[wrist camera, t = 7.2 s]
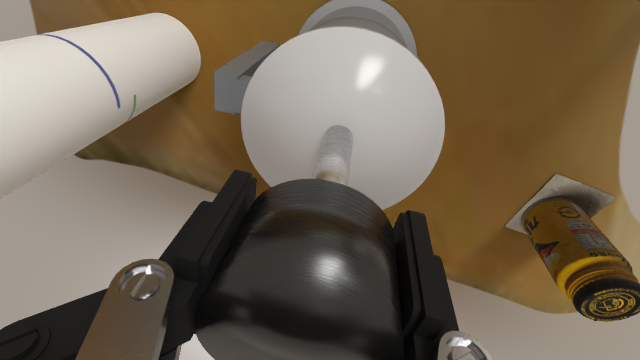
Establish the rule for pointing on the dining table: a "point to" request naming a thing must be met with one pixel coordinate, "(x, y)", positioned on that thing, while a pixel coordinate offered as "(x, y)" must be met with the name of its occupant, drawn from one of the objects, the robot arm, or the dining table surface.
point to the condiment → (579, 249)
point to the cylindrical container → (84, 87)
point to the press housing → (339, 100)
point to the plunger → (307, 273)
